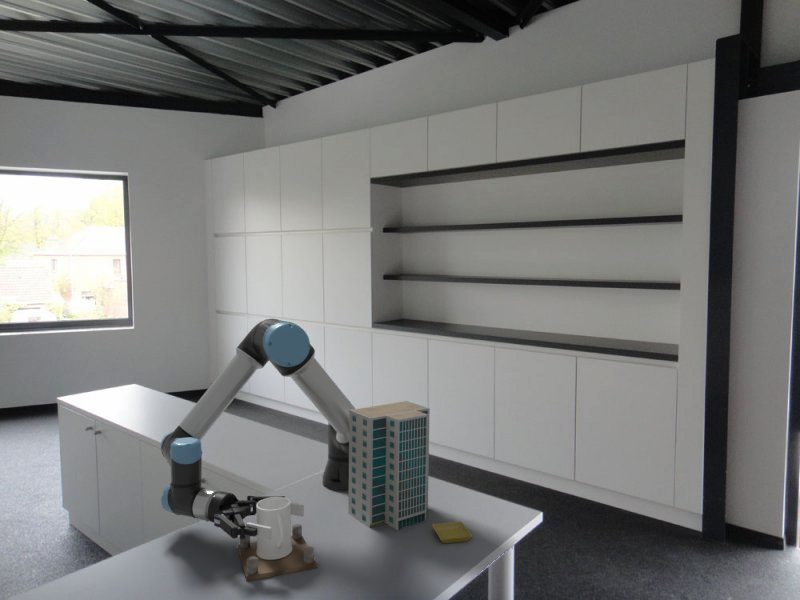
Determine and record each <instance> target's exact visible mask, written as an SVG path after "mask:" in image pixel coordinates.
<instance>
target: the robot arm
mask: <svg viewBox="0 0 800 600" xmlns="http://www.w3.org/2000/svg"><path fill="white" fill-rule="evenodd" d="M310 342H311V341H310V337H309V335H308V334H307V331H305V330H304V329H303V328H302V327H301V326H300V325H298V324H296V323H294V322H292V321H286V320H280V319H277V318H268V319H267V318H266V319H264V320H261V321H260V322H258V323H256V324H255V326H253V328H252V329H250V331H249V332H248V333H247V334H246V336H245V337H244V338H243V339H242V341H241V342H240V343H239V344H238V346H237V347H236V349H235V350H236V352H235V355H234V356H233V357H232V359H231V360H230V361H229V363H227V365H226V366H225V367H224V369H223V370H222V371H221V372H220V374H219V375H218V376H217V377H216V379H215V380H214V381H213V383H211V385H210V386H209V387H208V389H207V390H206V391H204V393H203V394H202V396H201V397H200V399H198V401H197V402H196V403H195V404H194V406H193V407H191V410H190V411H189V412H188V413H187V415H186V416H185V417H184V418H183V419H182V420H181V422H180V423H179V425H178V426H177V427H176V428H175V429H174V430H173V431H170V432H168V433H167V434H165V435H164V436H163V437H162V439H161V441H160V450H161V454H162V457H164V459H165V460H166V463H167V464H168V465H169V467H170V483H169V484H167V486H165V487H164V489H163V491H162V495H161V498H160V503H161V506H162V509H164V511H166V512H168V513H173V514H174V515H177V516H184V517H189V518H193V519H197V520H198V519H199V520H201V521H206V522H211V523H213V525H214V527H217V528H220V529H221V530H222V531H223V532H224V533H226V534H227V535H228V536H229V537H231V539H237V538H239V540H240V539H244V538H245V535H249V536H250V537H254V538H257V537H258V538H262V539H266V540H271V539H272V527H268V526H263V525H259V524H257V523H254V522H250V521H248V522H246V523H245V522H244V519H246V517H249V516H250V517H251V516H256V515H257V512H256V505H257V503H258V502H259V501H260V500H263V499H265V498H269V497H285V498H286V496H284V495H274V496H272V495H270V496H268V495H267V496H266V495H265V496H262V495H261V496H259V495H257V496H255V495H247V497H246V500H245V499H244V500H243V499H242V500H239V499H238V498H237V496H236V495H235V494H234V493H231V492H227V491H221V490H217V489H212V488H207V487H203V484H202V483H203V482H202V481H203V480H202V479H203V478H202V476H203V475H202V473H203V472H202V470H203V468H202V467H203V466H202V463H203V462H202V461H203V457H202V456H203V450H202V439H203V438H204V437H205V436H206V434H208V432H210V431H209V430H211V428H212V427H213V426H214V425H215V423H216V422H217V421H218V420H219V418H220V417H221V416H222V414H223V413H224V412H225V411H226V410H227V408H228V407H229V405H231V403H232V402H233V401H234V399H235V398H236V397H237V395H239V393H240V391H242V389H243V388H244V387H245V385H247V383H248V382H249V380H250V379H251V378H252V376H254V374H255V373H256V371H257V370H260V369H263V368H264V367H265V365H266V364H267V363H268V362H270V363H271V364H272V366H273V367H274V368H275V370H277V371H278V372H279V374H280V375H281V376H282V377H284V378H285V377H287V378H288V377H289V378H291V379H292V380H293V382H294V383H295V384H296V386H297V387H299V390H301V391H302V392H303V394H304V395H305V396H306V398H307V399H308V401H310V402H311V403H312V404H313V405H314V407H315V408H316V409H317V410H318V412H319V413H320V414H321V415H322V416H323V418H325V420H326V421H327V422H328V423H327V435H328V436H327V437H328V438H327V453H328V454H327V462H326V464H325V468H324V471H323V474H322V485H323V486H324V487H325V488H327V489H329V490H334V491H341V492H346V491H347V492H349V410H353V409H356V407H355V406H354V405H353V404H352V403H351V401H350V400H349V398H348V397H347V396H346V395H345V394H344V392H343V391H342V390H341V389H340V388H339V386H338V385H337V384H336V382H334V380H333V379H332V378H331V376H330V375H329V374H328V373H327V372H326V370H325V369H324V367H322V365H321V364H320V363H319V362H318V361H317V359H316V357H315V356H316V355H315V353H316V349H315V348H314V347H313V346H312V344H311V343H310ZM290 509H291V515H292V516H297V517H304V516H305V514H304V513H305V505H304V504H302V503H301V504H300V503H295V502H291V501H290ZM238 536H239V537H238Z"/></svg>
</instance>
